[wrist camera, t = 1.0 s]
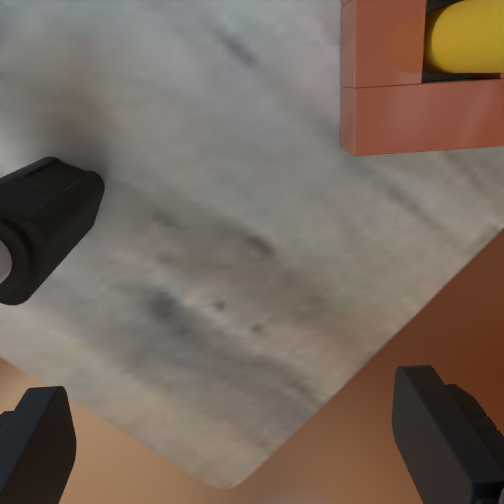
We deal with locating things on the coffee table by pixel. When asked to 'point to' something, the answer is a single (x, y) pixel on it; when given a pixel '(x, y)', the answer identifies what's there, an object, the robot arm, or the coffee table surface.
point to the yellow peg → (465, 38)
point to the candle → (42, 222)
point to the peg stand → (407, 87)
